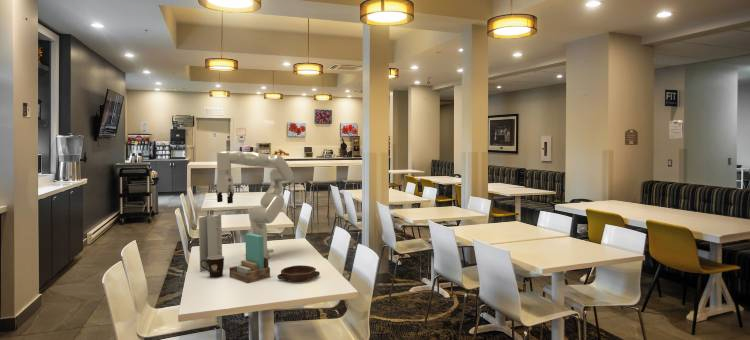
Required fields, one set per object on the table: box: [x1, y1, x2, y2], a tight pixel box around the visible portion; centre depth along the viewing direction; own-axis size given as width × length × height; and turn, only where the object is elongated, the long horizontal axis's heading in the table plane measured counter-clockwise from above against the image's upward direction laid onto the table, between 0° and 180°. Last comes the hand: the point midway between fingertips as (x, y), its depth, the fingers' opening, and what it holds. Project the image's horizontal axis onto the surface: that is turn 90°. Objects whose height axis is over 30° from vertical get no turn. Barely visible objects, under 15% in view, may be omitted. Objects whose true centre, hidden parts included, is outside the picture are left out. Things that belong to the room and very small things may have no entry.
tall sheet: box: [244, 232, 264, 270], centre depth 250 cm, size 3×12×22 cm, turn 49°
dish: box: [276, 265, 320, 283], centre depth 245 cm, size 18×22×5 cm
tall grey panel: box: [198, 213, 223, 273], centre depth 264 cm, size 14×6×30 cm, turn 168°
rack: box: [228, 257, 271, 284], centre depth 248 cm, size 14×16×10 cm
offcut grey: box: [236, 265, 251, 275], centre depth 245 cm, size 2×10×6 cm, turn 49°
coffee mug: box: [199, 255, 225, 278], centre depth 251 cm, size 12×9×10 cm
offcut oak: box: [240, 259, 258, 271], centre depth 248 cm, size 2×12×8 cm, turn 49°
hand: (224, 202), depth 268 cm, fingers open, 9 cm apart
